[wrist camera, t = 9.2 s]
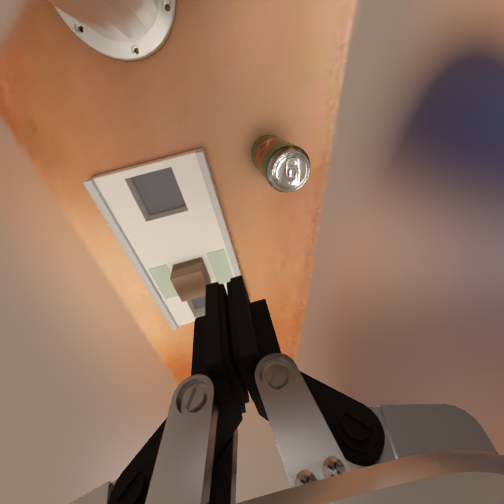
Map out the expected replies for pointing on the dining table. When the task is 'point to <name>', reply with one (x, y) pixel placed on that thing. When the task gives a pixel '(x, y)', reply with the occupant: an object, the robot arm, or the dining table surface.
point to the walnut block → (190, 279)
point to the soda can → (281, 163)
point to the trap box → (168, 225)
